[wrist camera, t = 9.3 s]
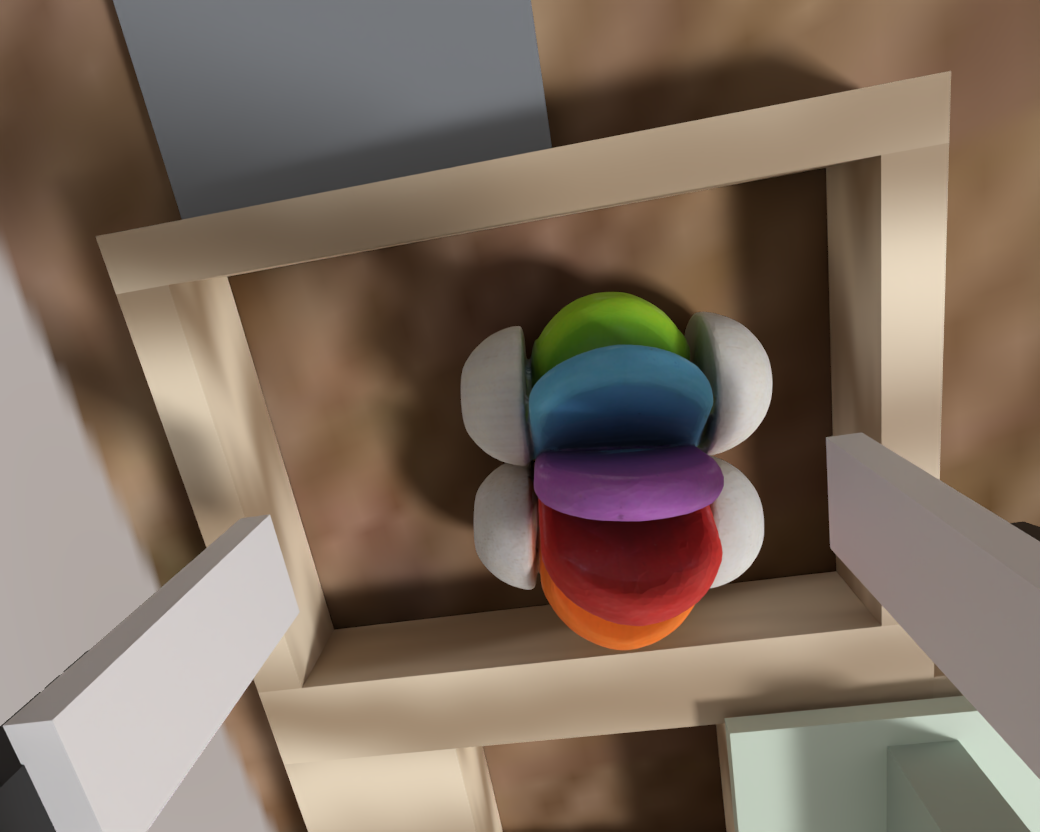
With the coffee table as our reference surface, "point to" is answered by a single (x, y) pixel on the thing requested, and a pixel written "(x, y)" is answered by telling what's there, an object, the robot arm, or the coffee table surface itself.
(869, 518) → the robot arm
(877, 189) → the board
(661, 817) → the coffee table surface
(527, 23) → the mat
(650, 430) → the rainbow toy vehicle
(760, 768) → the lid
